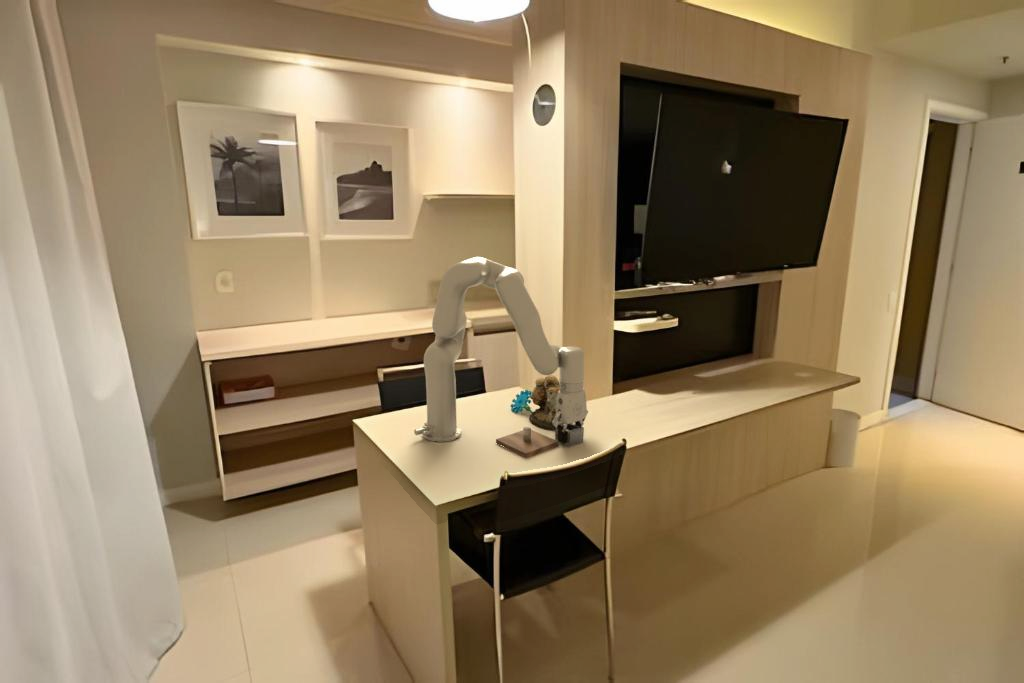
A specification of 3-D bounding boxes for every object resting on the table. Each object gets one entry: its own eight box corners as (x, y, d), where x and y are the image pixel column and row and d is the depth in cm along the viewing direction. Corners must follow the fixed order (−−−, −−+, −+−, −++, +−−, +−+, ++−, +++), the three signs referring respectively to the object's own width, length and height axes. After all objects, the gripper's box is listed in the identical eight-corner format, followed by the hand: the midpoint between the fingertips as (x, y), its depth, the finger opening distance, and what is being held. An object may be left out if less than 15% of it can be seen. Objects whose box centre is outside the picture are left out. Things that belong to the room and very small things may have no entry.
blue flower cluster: (506, 403, 209) (524, 384, 209) (516, 411, 212) (534, 393, 212) (515, 416, 200) (534, 397, 199) (525, 425, 202) (545, 406, 202)
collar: (569, 447, 174) (570, 432, 173) (555, 441, 179) (555, 426, 178) (583, 442, 178) (583, 427, 177) (568, 436, 183) (569, 421, 182)
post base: (525, 458, 166) (525, 440, 165) (495, 443, 176) (495, 427, 175) (558, 445, 175) (558, 429, 174) (528, 432, 185) (528, 417, 184)
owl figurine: (519, 417, 199) (519, 372, 196) (545, 411, 206) (546, 367, 202) (549, 433, 185) (550, 384, 181) (576, 426, 191) (578, 379, 188)
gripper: (560, 394, 166) (559, 450, 170) (598, 383, 177) (596, 435, 181) (543, 388, 171) (542, 443, 175) (580, 378, 182) (579, 429, 186)
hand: (569, 438), depth 178 cm, fingers closed on collar, 6 cm apart
